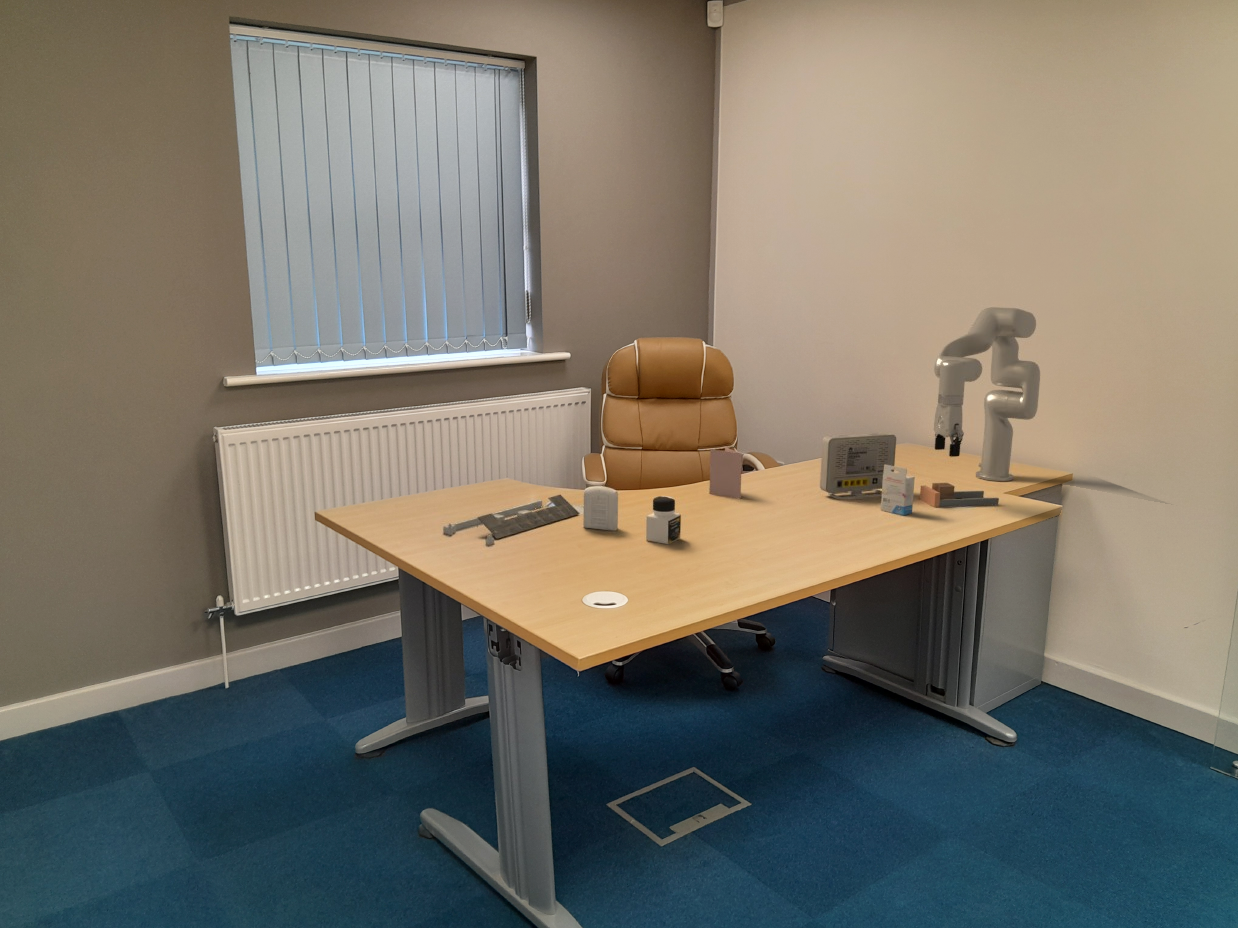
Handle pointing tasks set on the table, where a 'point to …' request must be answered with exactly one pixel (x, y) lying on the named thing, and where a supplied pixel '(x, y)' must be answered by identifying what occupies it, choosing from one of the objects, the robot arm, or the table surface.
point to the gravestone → (600, 508)
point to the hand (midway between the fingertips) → (946, 452)
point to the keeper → (944, 490)
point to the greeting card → (725, 473)
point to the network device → (856, 463)
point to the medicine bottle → (663, 521)
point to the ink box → (897, 491)
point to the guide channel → (973, 499)
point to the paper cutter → (519, 518)
